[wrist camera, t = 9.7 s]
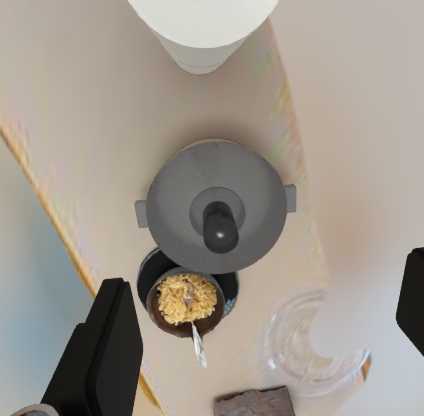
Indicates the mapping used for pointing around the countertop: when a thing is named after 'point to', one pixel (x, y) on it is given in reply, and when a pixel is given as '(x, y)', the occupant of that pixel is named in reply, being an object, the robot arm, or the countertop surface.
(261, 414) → the food item
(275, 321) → the countertop surface
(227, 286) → the soup bowl
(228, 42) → the cylindrical container
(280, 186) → the lid
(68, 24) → the countertop surface
